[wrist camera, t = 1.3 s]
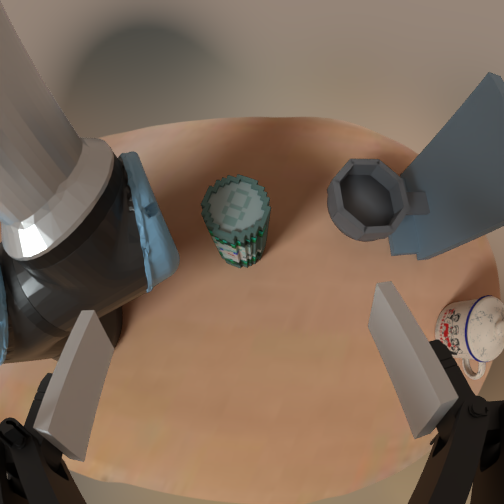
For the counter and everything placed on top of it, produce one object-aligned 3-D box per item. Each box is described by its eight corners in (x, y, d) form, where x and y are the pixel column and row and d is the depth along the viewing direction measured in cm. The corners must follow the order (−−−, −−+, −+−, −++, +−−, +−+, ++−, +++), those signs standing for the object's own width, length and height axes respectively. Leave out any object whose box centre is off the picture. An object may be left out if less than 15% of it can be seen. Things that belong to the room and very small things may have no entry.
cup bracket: (325, 268, 42) (417, 194, 17) (313, 175, 45) (362, 41, 20) (430, 259, 42) (555, 200, 17) (412, 175, 45) (503, 77, 20)
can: (212, 257, 42) (191, 224, 28) (229, 217, 44) (218, 167, 29) (254, 273, 42) (254, 247, 27) (270, 232, 43) (278, 188, 28)
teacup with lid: (430, 305, 41) (477, 297, 29) (472, 297, 41) (519, 288, 29) (433, 381, 38) (479, 393, 27) (475, 368, 38) (522, 374, 27)
